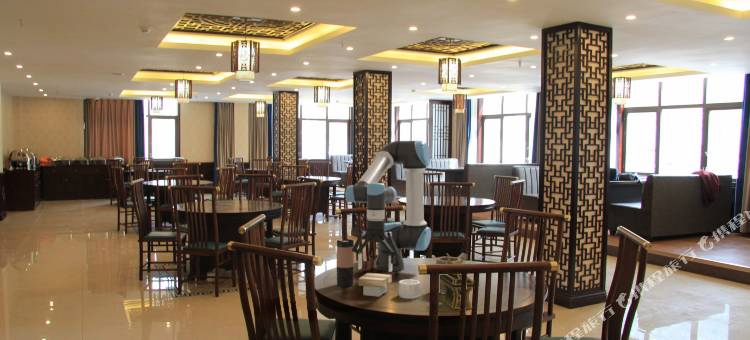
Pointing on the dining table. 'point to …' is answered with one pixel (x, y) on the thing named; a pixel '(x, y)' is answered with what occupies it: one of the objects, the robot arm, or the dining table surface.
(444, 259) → the tankard
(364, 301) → the dining table surface
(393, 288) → the dining table surface
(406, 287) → the bowl
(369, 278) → the lid
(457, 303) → the decorative box
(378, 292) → the white rectangular block
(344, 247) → the travel mug
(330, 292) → the dining table surface
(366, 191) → the robot arm
